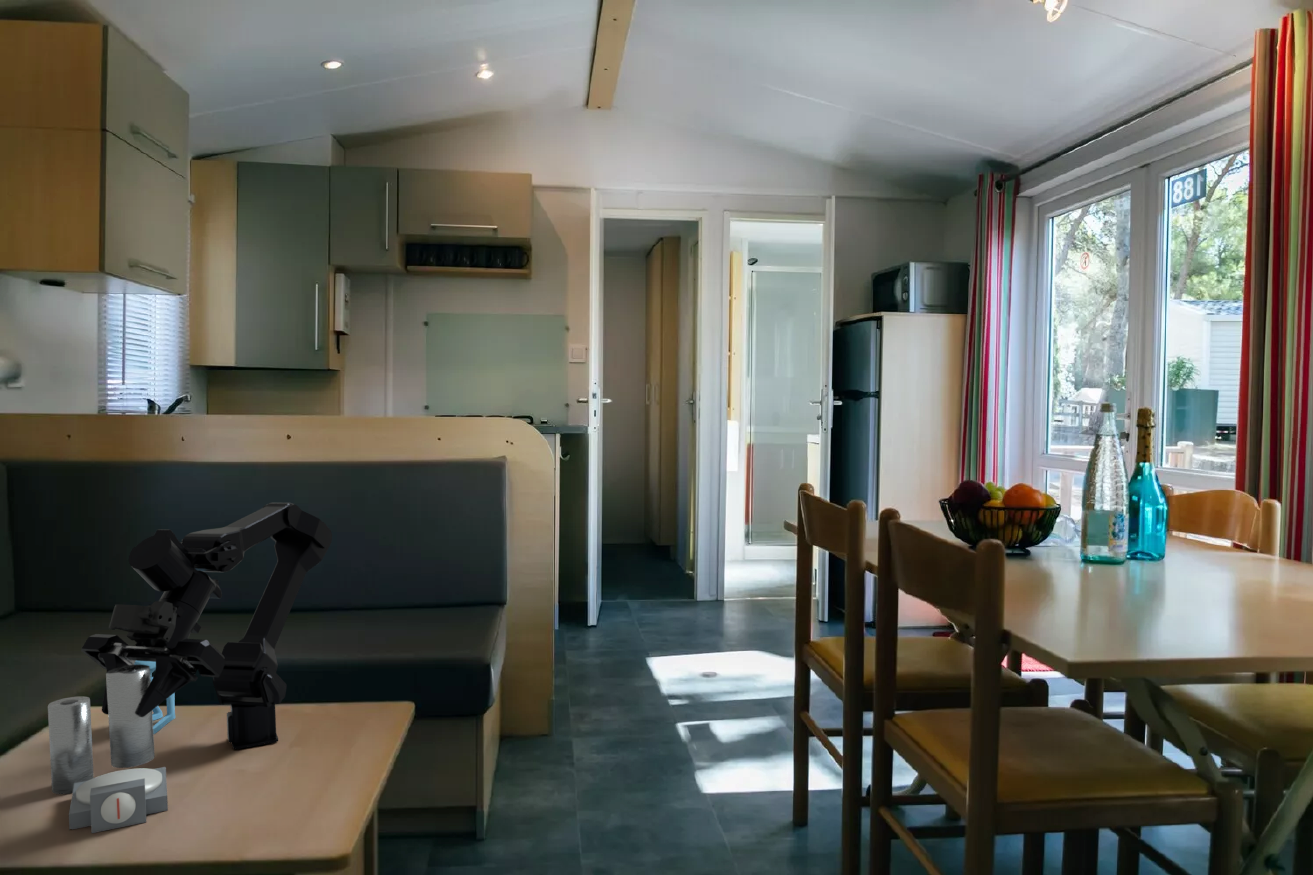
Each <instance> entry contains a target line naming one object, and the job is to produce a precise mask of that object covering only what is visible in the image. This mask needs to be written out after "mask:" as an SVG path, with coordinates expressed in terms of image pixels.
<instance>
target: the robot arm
mask: <svg viewBox="0 0 1313 875" xmlns="http://www.w3.org/2000/svg"><path fill="white" fill-rule="evenodd" d="M269 538H270V539H271V540H272V541H273V542H275V544H274V546H273V547H274V550H275V551H274V552H275V555H276V558H277V562H276V564H275V567H274V568H273V571H272V574H271V576H270V578H269V580H268V582H267V585H266V587H265V589H264V591H263V593H262V596H261V598H260V600H259V602H258V605H257V607H256V609H255V611H254V614H253V615H252V618H251V620H250V623H249V624H248V628H247V629H246V632H245V634H244V636H243V638H242V639H240V640H239V641H238V642H237V641H228V642H226V643H225V645H224V646H223V648H222V650H221V651H222V652H220V650H219V649H217V647H215V646H214V645H213V644H212V643H210V641H209V640H208V639H200V638H199V639H197V638H190V636H191V634H199V632H200V630H201V628H202V626H201V625H200V624H199V623H198V621H199V619H200V616H201V614H202V613H203V611H204V609H205V607H206V605H207V604H208V601H209V599H219V600H220V599H221V598H222V597H223V592H222V589H221V588H220V585H219V584H220V583H219V579H214V578H213V579H212V578H211V577H210V576H209V575H208V573H227V572H230V571H231V570H233V569H234V568H235V567H236V566H238V565H239V564H240V562H242V561H243V560H244V558H245V552H246V551H248V550H249V549H251V548H253V547H255V546H256V545H258V544H260V543H261V542H263V541H265V540H268V539H269ZM332 541H333V533H332V530H331V529H330V528H329V527H328V525H327V523H326V522H324V521H322V520H321V519H320V518H319V517H317V516H314V515H312V514H311V513H308V512H307V511H304V510H302V509H301V507H299V506H298V505H297V504H295V503H292V502H269V503H267V504H265V505H264V506H263V507H261V508H259V509H257V510H256V511H254V512H252V513H250V514H248V515H246V516H244V517H242V518H240V519H238V520H235V521H233V522H232V523H230V524H228V525H226V526H224V527H217V528H208V529H202V530H198V531H193V532H190V533H188V534H186V535H185V536H184V537H183V538H182V539H181V541H180V540H179V539H178V538H177V536H176V534H175V533H174V532H173V530H171V529H160V528H159V529H156V531H155V533H154V535H152V536H149V537H147V538H145V539H143V540H142V541H140V542H138V544H137V545H136V546H134V547H132V549H131V550H130V552H129V555H128V564H129V566H130V567H131V568H132V569H133V570H134V571H135V572H136V573H137V574H139V576H140V577H141V578H142V579H143V580H144V581H145V582H146V583H147V584H148V585H149V586H150V587H152V589H154V590H155V591H157V592H162V595H161V597H160V598H159V600H155V601H154V602H152V603H151V604H149V605H137V604H133V605H132V604H114V605H115V606H114V608H113V611H112V615H111V620H110V622H109V625H108V630H112V631H113V630H118V631H124V632H127V634H126V637H127V639H129V640H130V641H134V642H135V645H130V644H128V643H127V642H125V640H123V639H122V638H121V637H120V636H118V634H105V633H104V634H102V633H100V634H99V633H95V634H92V635H90V636H88V637H87V639H86V640H85V642H84V644H83V645H82V647H81V650H80V651H81V653H83V654H84V655H86V656H87V657H88V658H89V659H91V660H92V661H93V662H95V663H96V664H97V665H98V666H100V667H101V668H102V669H103V670H106V673H107V672H108V671H110V670H112V669H115V668H118V667H123V666H128V665H135V664H134V663H135V661H152V662H156V670H155V671H154V675H153V676H152V677H153V679H152V681H151V683H150V685H149V687H148V689H147V691H146V693H145V695H144V697H143V699H142V701H141V703H140V705H139V708H138V710H137V715H138V716H140V717H144V716H145V715H147V714H148V713H149V712H150V711H152V710H153V709H154V708H155V707H157V706H159V705H161V704H162V703H163V702H164V701H166V699H167V698H168V697H169V696H171V695H172V694H173V693H176V692H177V691H179V690H181V689H182V688H183V687H185V686H186V685H188V684H189V683H191V682H196V681H197V680H198V675H196V673H197V672H198V674H199V675H200V676H201V677H208V678H212V683H213V687H214V690H215V693H216V697H217V699H218V703H219V705H220V706H224V705H230V711H228V712H227V713H226V730H227V732H226V733H227V740H228V741H227V742H228V743H229V744H231V745H232V750H240V749H245V748H252V747H256V746H262V745H269V744H272V743H273V744H274V743H277V742H279V737H278V734H277V717H276V716H277V714H276V705H279V704H281V703H282V700H284V699H285V698H286V693H287V686H288V685H287V683H286V682H285V681H284V680H283V679H282V678H281V677H280V676H279V675H278V673H277V671H278V666H279V664H278V661H277V655H276V651H275V649H276V646H277V643H278V640H279V638H280V636H281V633H282V631H283V629H284V626H285V624H286V622H287V619H288V617H289V615H290V612H291V610H292V608H293V605H294V603H295V600H296V598H297V595H298V594H299V591H300V590H301V589H300V588H301V586H302V583H303V581H304V579H305V577H306V575H307V573H308V572H309V571H310V570H312V569H313V568H314V567H316V566H317V565H319V563H321V562H322V561H323V560H324V557H325V556H326V553H327V552H328V550H329V549H330V548H329V547H330V546H331V544H332ZM101 712H102V713H103V714H104V715H107V716H108V701H107V684H106V683H105V686H104V692H103V699H102V706H101ZM152 712H153V711H152Z"/></svg>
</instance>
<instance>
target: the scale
mask: <svg viewBox="0 0 1313 875" xmlns="http://www.w3.org/2000/svg"><path fill="white" fill-rule="evenodd" d="M167 784H168V782H167V768H166V766H162V767H157V768H143V767H141V768H127V769H126V768H125V769H121V770H115V771H111V772H108V773H104V774H100V775H98V776H96V777H94V778H93V779H90V780H88V781H84V782H78V783H74V789H73V793H71V794H72V796H71V802H70V807H69V811H68V823H69V824H68V825H69V826H68V827H69V830H70V829H72V830H76V829H81V828H86V827H91V830H90V831H91V834H95V833H100V832H103V831H109V830H113V829H119V828H123V827H128V826H134V825H139V824H143V823H147V815H151V814H156V813H162V812H166V811H168V810H169V807H168V806H169V805H168V802H169V801H168V785H167Z"/></svg>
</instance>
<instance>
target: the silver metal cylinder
mask: <svg viewBox="0 0 1313 875" xmlns="http://www.w3.org/2000/svg"><path fill="white" fill-rule="evenodd" d="M105 678H106V680H105V685H106V684H107V701H108V715H107V716H108V718H107V719H108V732H109V734H108V735H109V749H110V750H109V752H110V764H111V766H112V767H113V768H117V769H126V768H127V769H129V768H134V767H138V766H141V765H144V764H145V765H146V764H147V763H149V762H151V761H153V760H154V758H155V756H156V755H155V740H154V738H155V737H154V735H155V734H153V726H154V721H153V717H152V714H153V711H150V712H149V713H148V714H147V715H145V716H144V717H140V716H138V715H137V710H138V708H139V705H140V703H141V701H142V699H143V697H144V695H145V693H146V691H147V689H148V687H149V685H150V683H151V681H150V667H149V666H148V665H128V666H123V667H118V668H115V669H112V670H110V671H108V672H107V671H106V672H105Z"/></svg>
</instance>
